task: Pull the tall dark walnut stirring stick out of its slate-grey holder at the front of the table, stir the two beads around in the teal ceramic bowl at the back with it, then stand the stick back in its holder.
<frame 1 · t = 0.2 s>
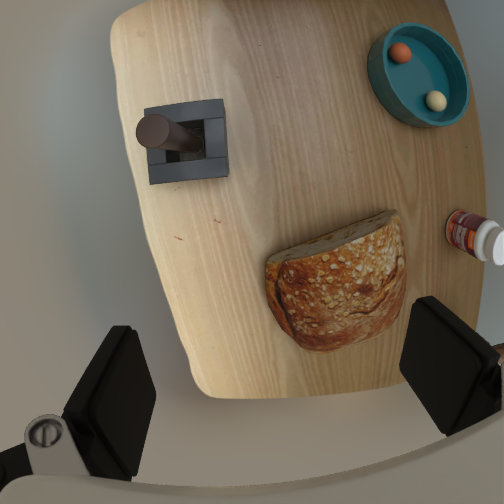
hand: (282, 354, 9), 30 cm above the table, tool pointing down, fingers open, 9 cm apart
bowl: (412, 78, 33), on the table
stick: (181, 139, 26), in the holder
holder: (195, 144, 35), on the table
pill bottle: (456, 227, 41), on the table
bead b: (400, 52, 30), point 2 cm above the table, touching bowl
bead a: (436, 101, 32), point 2 cm above the table, touching bowl
bread: (336, 281, 42), on the table
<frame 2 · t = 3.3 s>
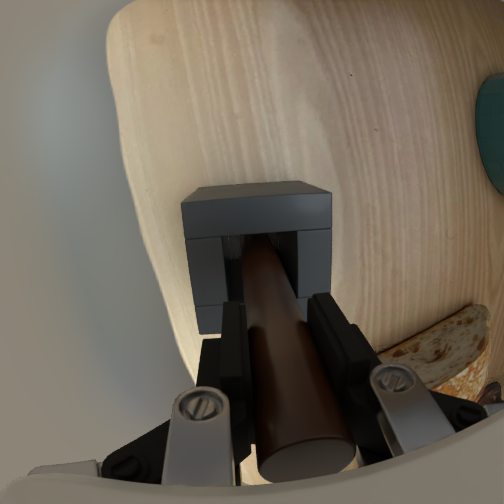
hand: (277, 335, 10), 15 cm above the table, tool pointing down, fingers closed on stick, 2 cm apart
stick: (265, 283, 15), in the holder, touching gripper
holder: (253, 233, 24), on the table
mortar and pestle: (484, 391, 35), on the table
bread: (407, 381, 31), on the table
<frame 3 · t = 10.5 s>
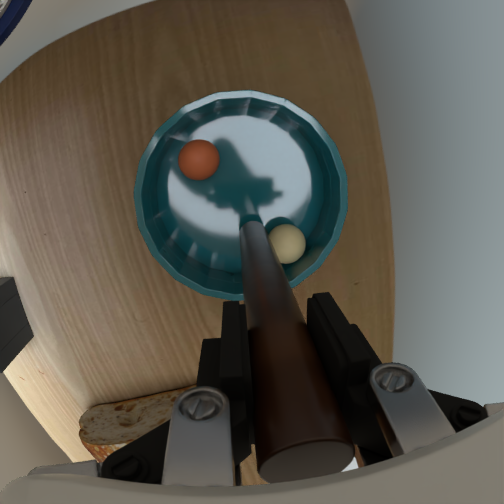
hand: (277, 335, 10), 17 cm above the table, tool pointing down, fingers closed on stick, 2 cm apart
bowl: (240, 191, 25), on the table
stick: (265, 285, 15), point 12 cm above the table, touching gripper
holder: (3, 307, 27), on the table
bead b: (198, 159, 22), point 2 cm above the table, touching bowl
bead a: (286, 243, 24), point 2 cm above the table, tilted 40°, touching bowl
bread: (164, 431, 34), on the table
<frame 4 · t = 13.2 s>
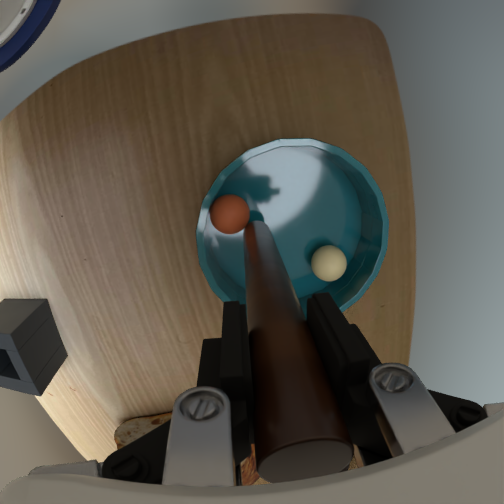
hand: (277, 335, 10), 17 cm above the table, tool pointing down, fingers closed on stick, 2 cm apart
bowl: (287, 226, 27), on the table
stick: (268, 284, 15), point 13 cm above the table, touching bead b, gripper
holder: (34, 327, 29), on the table
bead b: (229, 214, 24), point 3 cm above the table, tilted 75°, touching bowl, stick
bead a: (328, 263, 26), point 2 cm above the table, tilted 11°, touching bowl
bread: (195, 440, 36), on the table
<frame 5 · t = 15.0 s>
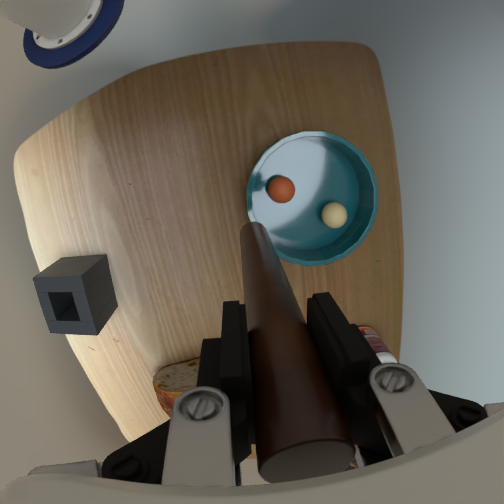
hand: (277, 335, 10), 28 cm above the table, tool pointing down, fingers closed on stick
bowl: (306, 194, 37), on the table
stick: (265, 285, 15), point 23 cm above the table, touching gripper
holder: (88, 282, 39), on the table
pill bottle: (358, 340, 44), on the table
bead b: (281, 189, 34), point 2 cm above the table, tilted 47°, touching bowl
bead a: (334, 215, 36), point 2 cm above the table, tilted 29°, touching bowl
bread: (223, 387, 46), on the table
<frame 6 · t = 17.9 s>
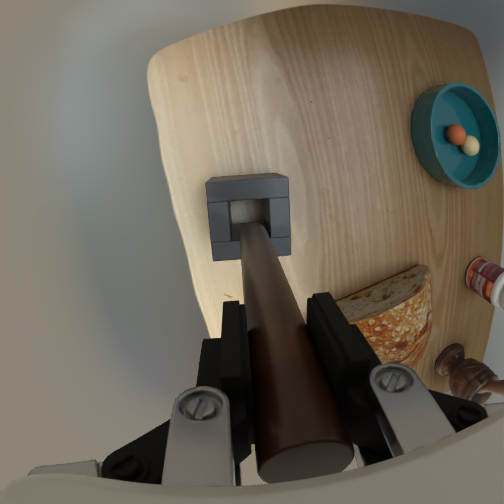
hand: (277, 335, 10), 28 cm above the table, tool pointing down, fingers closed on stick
bowl: (449, 135, 35), on the table
stick: (265, 286, 15), point 24 cm above the table, touching gripper
holder: (246, 206, 37), on the table
pill bottle: (475, 272, 43), on the table
mortar and pestle: (448, 352, 48), on the table
bead b: (456, 134, 33), point 2 cm above the table, tilted 74°, touching bowl
bead a: (470, 145, 33), point 2 cm above the table, tilted 70°, touching bowl
bread: (369, 327, 44), on the table
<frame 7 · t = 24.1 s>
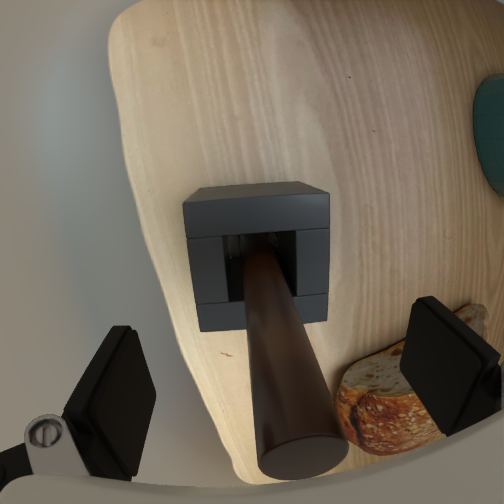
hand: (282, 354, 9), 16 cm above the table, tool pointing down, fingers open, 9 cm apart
stick: (265, 289, 15), in the holder
holder: (252, 233, 25), on the table
bread: (406, 380, 31), on the table
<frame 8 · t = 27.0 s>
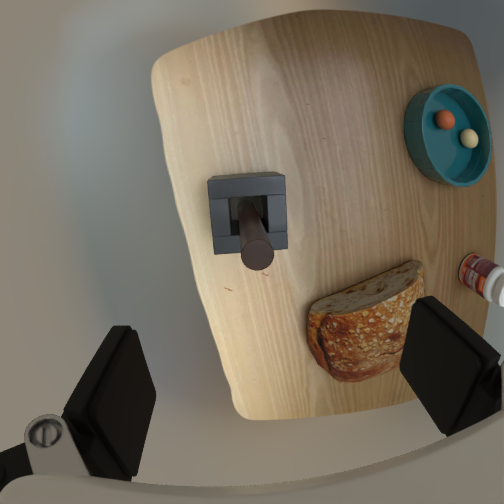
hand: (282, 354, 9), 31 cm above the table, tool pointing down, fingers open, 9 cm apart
bowl: (441, 135, 37), on the table
stick: (250, 223, 30), in the holder
holder: (245, 204, 39), on the table
pill bottle: (468, 268, 45), on the table
bead b: (445, 119, 34), point 2 cm above the table, tilted 82°, touching bowl
bead a: (469, 138, 35), point 2 cm above the table, tilted 108°, touching bowl
bread: (364, 321, 46), on the table
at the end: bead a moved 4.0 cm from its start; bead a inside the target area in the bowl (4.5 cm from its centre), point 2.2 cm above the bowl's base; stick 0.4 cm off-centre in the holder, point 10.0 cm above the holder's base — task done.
